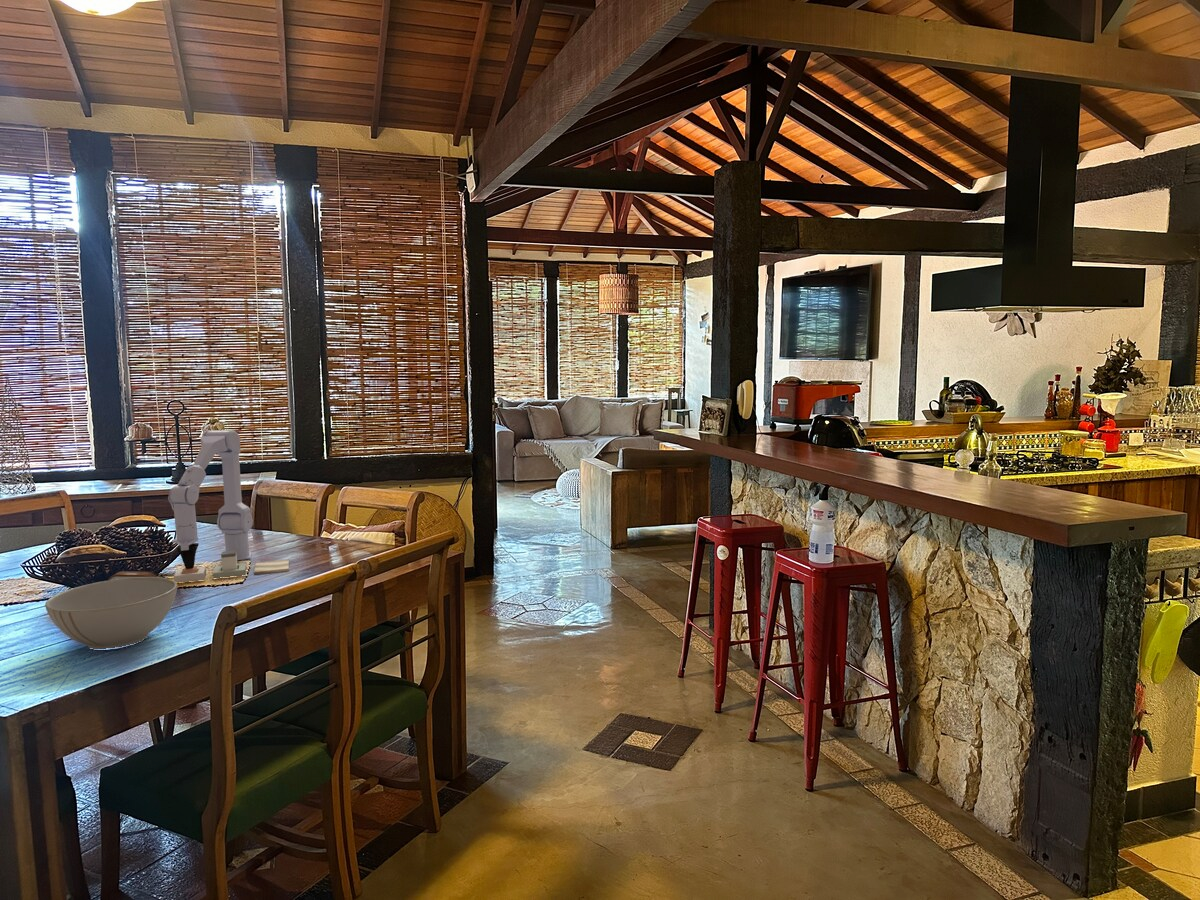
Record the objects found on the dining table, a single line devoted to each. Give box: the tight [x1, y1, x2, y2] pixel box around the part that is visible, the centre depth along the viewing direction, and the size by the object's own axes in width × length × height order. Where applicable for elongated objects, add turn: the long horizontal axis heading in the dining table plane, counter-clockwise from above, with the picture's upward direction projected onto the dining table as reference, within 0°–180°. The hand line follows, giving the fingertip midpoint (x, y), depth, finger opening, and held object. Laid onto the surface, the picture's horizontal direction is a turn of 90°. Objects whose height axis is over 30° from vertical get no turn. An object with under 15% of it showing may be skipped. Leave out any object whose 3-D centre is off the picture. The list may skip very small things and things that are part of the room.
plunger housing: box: [173, 566, 207, 583], centre depth 242 cm, size 8×8×2 cm
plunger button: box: [181, 566, 198, 574], centre depth 242 cm, size 4×4×3 cm
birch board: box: [253, 559, 290, 576], centre depth 253 cm, size 12×10×1 cm
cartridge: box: [220, 550, 238, 571], centre depth 247 cm, size 4×4×7 cm
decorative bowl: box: [44, 576, 178, 649], centre depth 189 cm, size 27×27×12 cm
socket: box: [212, 562, 248, 579], centre depth 247 cm, size 9×9×2 cm
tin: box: [107, 570, 158, 581], centre depth 221 cm, size 15×3×8 cm, turn 84°
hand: (189, 568), depth 242 cm, fingers closed, pressing on plunger button
